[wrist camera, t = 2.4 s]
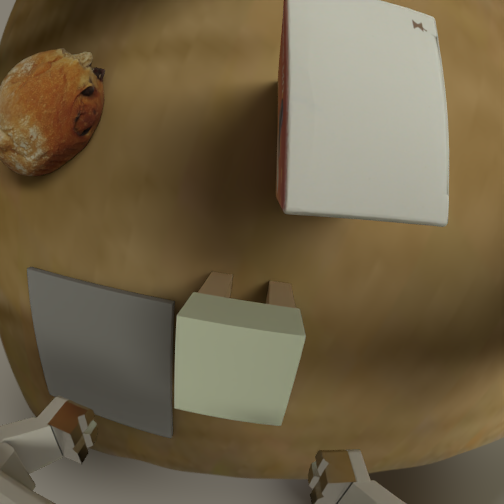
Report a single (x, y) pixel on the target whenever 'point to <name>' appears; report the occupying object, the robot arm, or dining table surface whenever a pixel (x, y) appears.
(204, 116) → the dining table surface
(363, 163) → the small box
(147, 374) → the mat
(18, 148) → the bread roll
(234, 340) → the stool
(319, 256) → the dining table surface
